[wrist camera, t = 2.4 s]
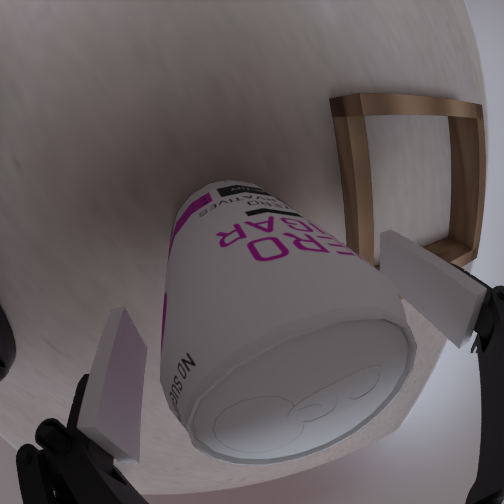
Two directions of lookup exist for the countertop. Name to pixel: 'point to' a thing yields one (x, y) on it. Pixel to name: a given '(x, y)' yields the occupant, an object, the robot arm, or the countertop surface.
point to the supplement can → (274, 330)
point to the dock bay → (462, 157)
